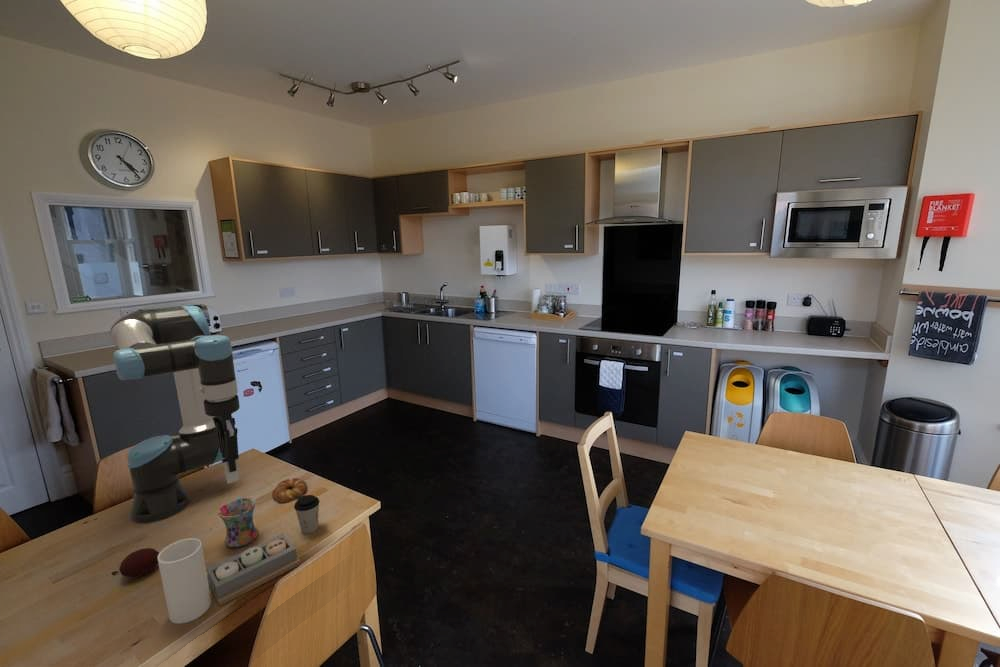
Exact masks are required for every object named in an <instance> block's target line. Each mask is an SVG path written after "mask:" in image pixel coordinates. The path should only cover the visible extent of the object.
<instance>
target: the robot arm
mask: <svg viewBox="0 0 1000 667" xmlns="http://www.w3.org/2000/svg"><path fill="white" fill-rule="evenodd" d="M209 326H210V325H209V323H208V321H207V318H206V315H205V314H204V312H203V310H202V309H201V308H200V307H199V306H196V305H180V306H172V307H171V306H170V307H163V308H162V307H161V308H159V307H158V308H152V309H141V310H136V311H133V312H130V313H128V314H126V315H123V316H122V317H121V318H118V320H116V321H115V322H114V323H113V324H112V326H111V327H110V330H109V339H110V341H111V343H112V344H113V345H114V346H115V347H116V348H118V349H119V350H115V351H114V352H113V361H114V366H115V369H116V375H117V378H118V379H119V380H120V381H128V380H140V379H145V378H150V377H154V376H161V375H166V374H171V373H173V377H174V381H175V382H174V384H175V387H176V391H177V392H176V393H177V398H178V404H179V410H180V415H181V420H182V426H181V428H180V429H179V430H178V435H179V436H178V437H175V438H173V437H172V436H170V435H169V434H163V435H156V436H151V437H150V438H147V439H144V440H142V441H140V442H138V443H137V444H135V445H134V446H132V447H131V448H130V449H129V450H128V452H127V468H128V469H129V473H130V478H131V484H132V488H133V499H132V502H131V503H132V504H131V508H130V516H131V517H130V518H131V520H132V521H133V522H135V523H141V524H144V523H145V524H146V523H153V522H158V521H161V520H165V519H167V518H169V517H172V516H174V515H176V514H178V513H180V512H181V511H182V510H184V509H185V508H187V507H188V505H189V503H190V500H191V499H190V496H189V493H188V491H187V490H186V488H185V487H184V485H183V484H182V482H181V481H180V478H179V477H180V476H179V474H183V473H186V472H190V471H193V470H196V469H200V468H203V467H206V466H211V465H214V464H216V463H220V462H222V463H223V466H224V468H223V469H224V474H225V479H226V480H225V481H226V483H227V484H232V483H235V482H237V481H240V473H239V467H238V466H239V465H238V459H239V457H240V456H239V446H238V445H239V444H238V431H239V430H238V428H237V427H235V426H236V419H235V417H233V415H232V414H234V413H236V412H237V411H238V410H239V409H240V400H239V395H238V393H239V391H238V383H237V377H236V371H235V364H234V363H235V362H234V357H233V355H234V354H233V351H234V350H233V347H232V344H231V340H230V337H228V336H227V335H222V334H216V335H215V334H214V335H211V331H210V329H211V328H210V327H209Z"/></svg>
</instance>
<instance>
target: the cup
mask: <svg viewBox="0 0 1000 667" xmlns="http://www.w3.org/2000/svg"><path fill="white" fill-rule="evenodd" d="M205 562H206V561H205V556H204V551H203V545H202V541H201V540H200V539H198V538H195V537H191V538H184V539H180V540H177V541H175V542H173V543H170V544H168V545H167V546H166V547H164V548H163V549H162V550H161V551H160V552H159V555H158V567H159V572H160V579H161V582H162V584H161V585H162V588H163V594H164V597H165V598H164V599H165V604H166V608H167V614H168V618H169V621H170V622H171V623H173V624H176V625H179V624H180V625H182V624H186V623H189V622H192V621H194V620H196V619H198V618H199V617H201V616H202V615H204V614H205V613H206V612H207V611H208V610H209V608H210V607H211V605H212V597H211V595H212V594H211V588H210V586H209V584H208V578H207V569H206V568H207V566H206V563H205Z"/></svg>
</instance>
